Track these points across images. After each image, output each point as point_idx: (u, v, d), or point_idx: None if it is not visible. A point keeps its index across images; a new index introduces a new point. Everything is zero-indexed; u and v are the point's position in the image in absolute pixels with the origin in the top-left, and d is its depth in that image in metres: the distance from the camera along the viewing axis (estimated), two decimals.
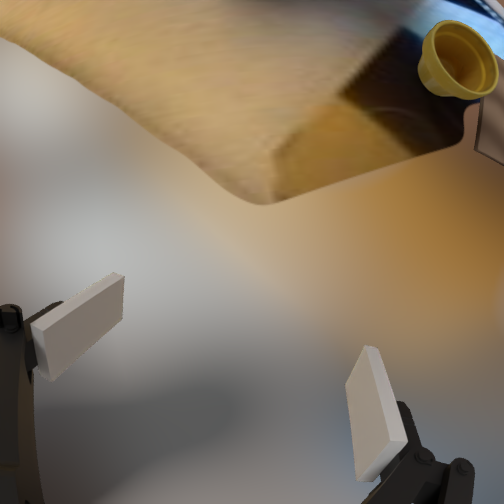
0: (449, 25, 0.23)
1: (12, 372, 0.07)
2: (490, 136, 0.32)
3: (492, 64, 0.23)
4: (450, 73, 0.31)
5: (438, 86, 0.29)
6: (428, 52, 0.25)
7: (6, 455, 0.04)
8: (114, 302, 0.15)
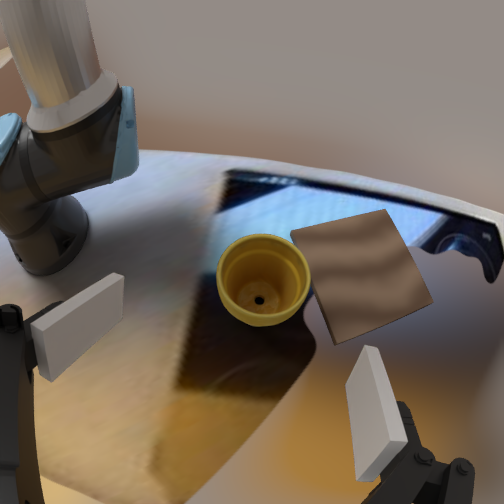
0: (232, 250, 0.35)
1: (12, 372, 0.07)
2: (342, 318, 0.40)
3: (296, 255, 0.36)
4: (268, 291, 0.42)
5: None
6: (224, 302, 0.33)
7: (6, 455, 0.04)
8: (114, 302, 0.15)
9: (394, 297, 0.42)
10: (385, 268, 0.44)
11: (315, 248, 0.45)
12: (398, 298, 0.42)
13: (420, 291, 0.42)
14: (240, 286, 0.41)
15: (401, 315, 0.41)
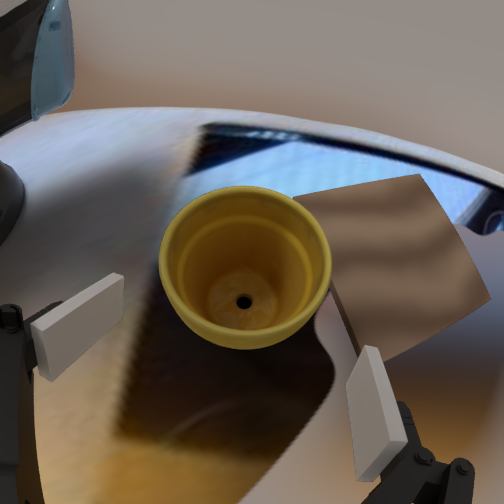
0: (191, 214, 0.20)
1: (12, 372, 0.07)
2: (375, 329, 0.25)
3: (303, 223, 0.20)
4: (258, 287, 0.26)
5: None
6: None
7: (6, 455, 0.04)
8: (114, 302, 0.15)
9: (445, 293, 0.26)
10: (429, 252, 0.29)
11: (329, 221, 0.30)
12: (449, 295, 0.26)
13: (475, 285, 0.27)
14: (213, 279, 0.26)
15: (455, 320, 0.25)
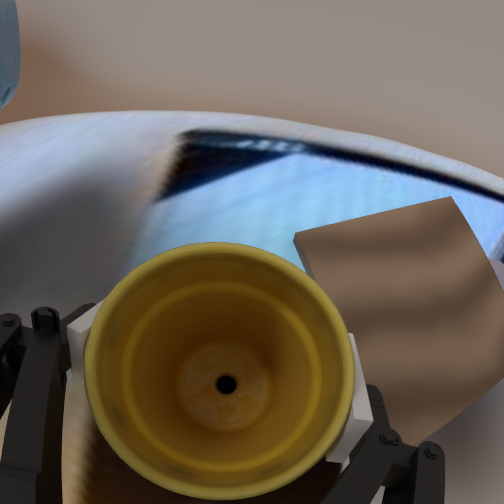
0: (134, 290, 0.12)
1: (44, 376, 0.07)
2: (396, 413, 0.17)
3: (312, 304, 0.12)
4: (246, 364, 0.19)
5: None
6: None
7: (28, 459, 0.05)
8: None
9: (480, 355, 0.19)
10: (465, 303, 0.21)
11: (343, 268, 0.22)
12: (485, 356, 0.19)
13: None
14: (185, 354, 0.18)
15: (489, 387, 0.17)
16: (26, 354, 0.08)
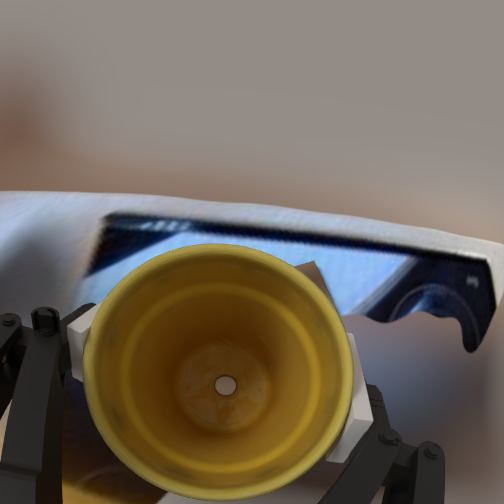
0: (133, 292, 0.12)
1: (44, 376, 0.07)
2: None
3: (311, 306, 0.12)
4: (245, 365, 0.19)
5: None
6: None
7: (28, 459, 0.05)
8: None
9: None
10: None
11: None
12: None
13: None
14: (184, 355, 0.18)
15: None
16: (25, 354, 0.08)
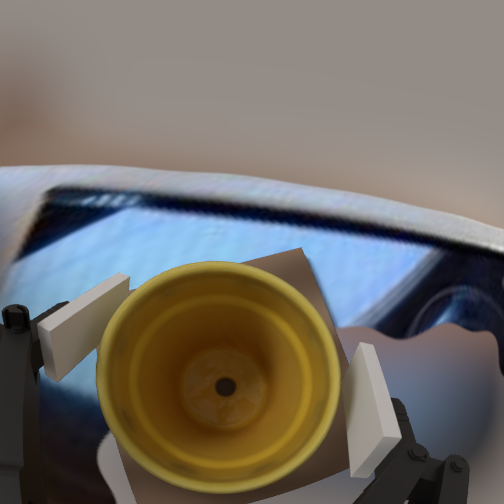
0: (140, 306, 0.13)
1: (18, 373, 0.07)
2: (156, 483, 0.16)
3: (303, 318, 0.13)
4: (244, 368, 0.20)
5: None
6: None
7: (10, 456, 0.04)
8: (119, 302, 0.15)
9: None
10: None
11: None
12: None
13: None
14: (187, 359, 0.19)
15: (293, 487, 0.16)
16: None
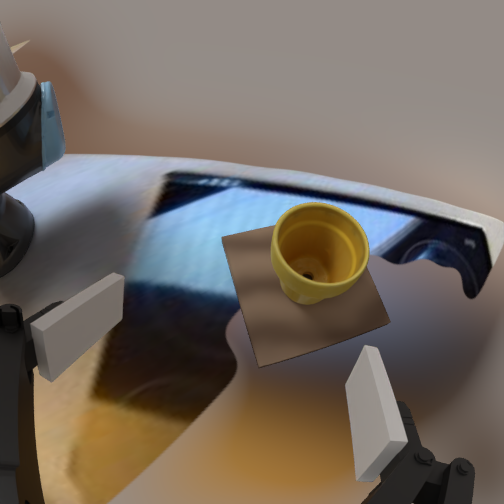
0: (287, 218, 0.33)
1: (12, 373, 0.07)
2: (268, 338, 0.36)
3: (351, 225, 0.33)
4: (316, 267, 0.39)
5: (312, 297, 0.33)
6: (281, 271, 0.30)
7: (6, 455, 0.04)
8: (114, 302, 0.15)
9: (338, 315, 0.37)
10: None
11: (246, 256, 0.41)
12: (343, 317, 0.37)
13: (374, 309, 0.38)
14: (287, 262, 0.39)
15: (345, 337, 0.36)
16: None
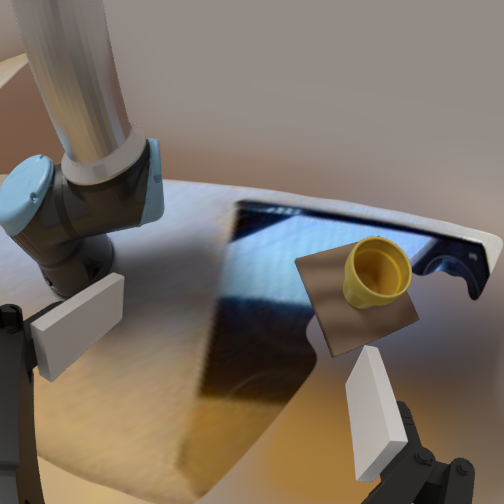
0: (357, 249, 0.44)
1: (12, 372, 0.07)
2: (339, 335, 0.47)
3: (398, 253, 0.45)
4: (368, 281, 0.51)
5: None
6: (357, 288, 0.42)
7: (6, 455, 0.04)
8: (114, 302, 0.15)
9: (384, 316, 0.49)
10: None
11: (316, 274, 0.52)
12: (388, 317, 0.49)
13: (407, 310, 0.49)
14: None
15: (390, 331, 0.47)
16: None
